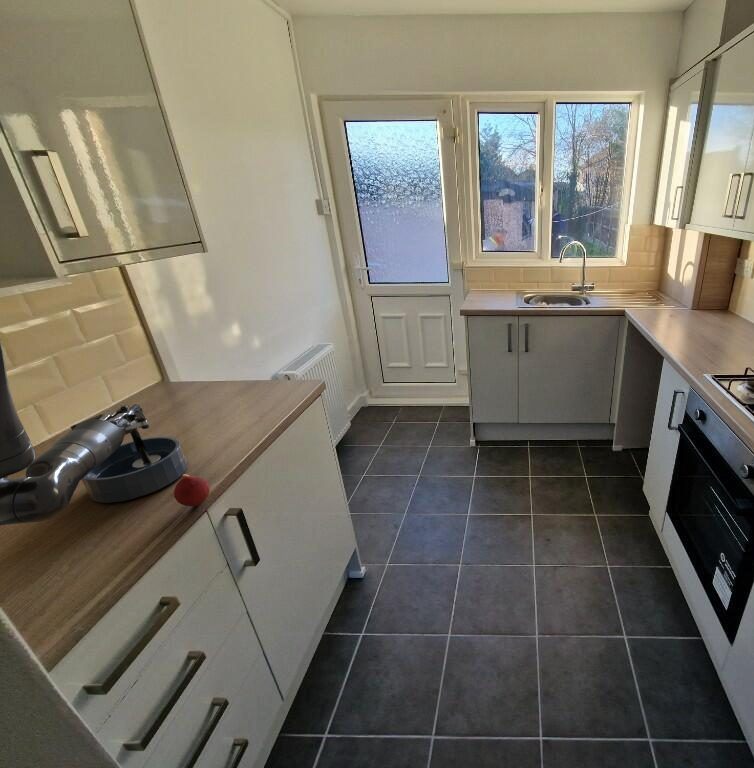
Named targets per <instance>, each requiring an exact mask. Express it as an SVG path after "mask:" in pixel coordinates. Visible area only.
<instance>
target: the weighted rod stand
mask: <svg viewBox="0 0 754 768" xmlns="http://www.w3.org/2000/svg"><path fill="white" fill-rule="evenodd" d="M119 409H120V411H121V413H124V412H126V411H127V410H128V409H129V408H128V407H127V406H125V405H121V406H120V407H119ZM138 429H139V428H138V427H137V428H134V429H133V430H132V432H130V433H129V434H130V436H131V439H132V441H134V443H135V445H136V448H137V450H138V452H139V455H140V457H141V459H138V460H137V461H135V462H134V463H133V464H132V466H133V469H134V471H137V470H140V469H143V468H145V467H148V466H150V465H152V464H154V463H156V462H158V461H160V460H162V459H161V456H159V455H150V456H149V455H148V453H147V450H146V448H145V446H144V443H143V441H142V439H143V438H142V437H141V434H140V432H139V430H138Z"/></svg>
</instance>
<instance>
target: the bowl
mask: <svg viewBox="0 0 754 768" xmlns="http://www.w3.org/2000/svg"><path fill="white" fill-rule="evenodd" d="M141 439H142V441H143V443H144V446H145V448H146V450H147V453H148V455H149V456H150V455H159V456H161V459H162V460H160V461H158V462H156V463H154V464H152V465H150V466H148V467H145V468H143V469H140V470H137V471H134V469H133V466H132V464H133V463H134V462H135V461H137V460H138V459H141V457H140V455H139V452H138V450H137V448H136V445H135V443H134V441H133V440H132V441H128V442H125V443H122V444H121V445H120V447H119V448H118V449H116V450H115V451H114V452H113V453H112V454H111V455H110V456H109V457H108V458H107V459H106V460H104V461H103V462H102V463H101V464H100V465H99V466H97V467H96V468H94V469H93V470H91V471H90V472H89V473H88V474H87V475H86V476H85V477H83V478H82V479H81V480H80V481H81V482H82V484H83V486H84V487H85V489H86V491H87V493H88V495H89V498H90V500H92V501H95V502H97V503H102V504H103V503H104V504H110V503H120V502H121V503H122V502H125V501H130V500H133V499H136V498H140V497H144V496H147V495H149V494H152V493H154V492H156V491H158V490H160V489H162V488H163V489H164V488H165V487H166V486H168V485H170V484H172V483H173V482H174V481H177V479H179V478H180V477H182V475H183V474H185V473H186V470H187V469H188V461H187V457H186V456H185V452H184V450H183V447H182V445H181V443H180V441H179V440H178V439H177V438H174V437H171V436H154V437H153V436H151V437H145V438H141Z"/></svg>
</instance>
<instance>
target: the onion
mask: <svg viewBox="0 0 754 768" xmlns="http://www.w3.org/2000/svg"><path fill="white" fill-rule="evenodd" d="M210 488H211V487H210V484H209V483H208V482H207V481H206V479H204V478H203V477H200V476H197V475H189V474H186V473H183V474H182V475H181V479H180V480H179V481H178V482H177V483H176V485H175V487H174V490H173V498H174V499H175V500H176V502H177V503H178V504H180V505H182V506H184V507H185V506H186V507H194V508H196V507H198V506H200V505H201V504H203V503H204V502H205V501H206V499H208V497H209V494H210V491H211V489H210Z"/></svg>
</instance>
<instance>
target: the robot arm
mask: <svg viewBox="0 0 754 768" xmlns="http://www.w3.org/2000/svg"><path fill="white" fill-rule="evenodd" d="M1 341H2V340H0V526H9V525H20V524H28V523H39V522H45V521H48V520H51V519H53V518H55V517H57V516H59V515H60V514H62V513H63V512H64V511H65V510H66V509H67V508H68V507H69V505H70V502H71V500H72V498H73V495H74V494H75V491H76V489H77V488H78V486H79V483H80V482H81V481H82V480H81V479H82V478H83V477H85V476H86V475H87V474H88V473H89V472H90V471H91V470H93V469H94V468H96V467H97V466H99V465H100V464H101V463H102V462H103V461H104V460H106V459H107V458H108V457H109V456H110V455H111V454H112V453H113V452H114V451H115V450H116V449H118V448H119V447H120V445H122V444H123V442H124V438H125V436H126V435H128V434H130V432H132V430H133V429H134V428H137V429H142V430H147V429H149V428H150V424H149V422H148V420H147V417H146V415H145V414H144V410H143V407H142V405H140V403H136V404H133V405H132V406H130V405H129V404H126V405H124V406H127V407H128V408H129V409H128V410H127V411H126V412H124V413H121V411H120V408H118V409H117V410H115V411H112V412H109V413H108V414H105V413H103V414H102V413H101V414H99V415H96V416H94V417H91V418H88V419H86V420H83V421H81V422H78V423H76V424H73V425H70V429H71V430H70V431H68V432H67V433H66V434H64V435H63V436H61V437H60V438H59V439H57V440H56V441H55V442H54V443H53V444H52V445H51V446H50V447H49V448H47V449H46V450H44V451H43V452H42V453H40V454H39V455H37V457H36V452H35V448H34V446H33V444H32V442H31V440H30V437H29V435H28V433H27V431H26V429H25V426H24V425H23V422H22V420H21V419H20V416H19V413H18V411H17V408H16V406H15V403H14V400H13V397H12V393H11V389H10V383H9V379H8V373H7V368H6V361H5V356H4V350H3V346H2V342H1ZM23 470H25V471H24V475H25V476H24V477H10V476H12V475H14V474H17V473H19V472H22V471H23Z"/></svg>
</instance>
